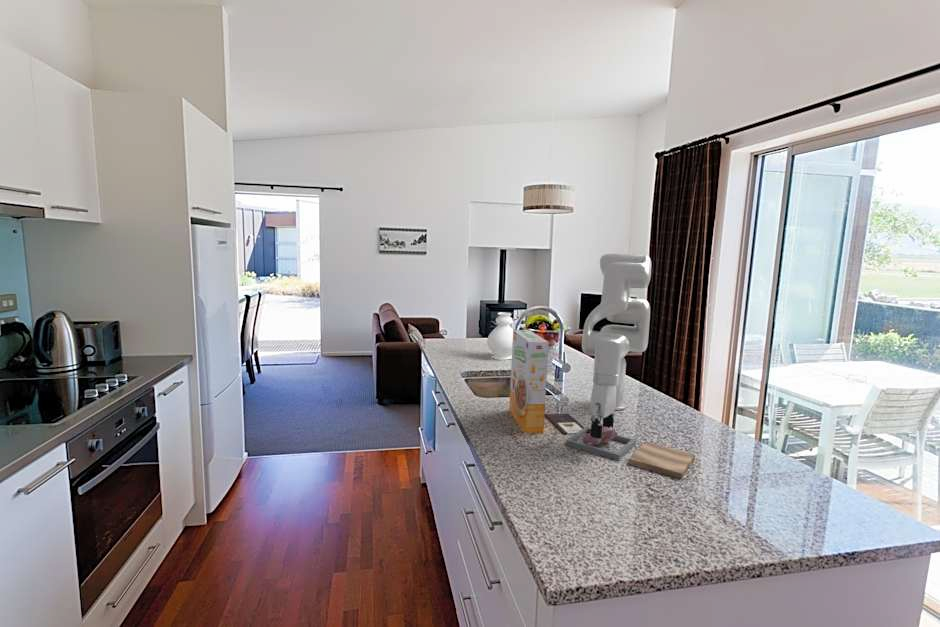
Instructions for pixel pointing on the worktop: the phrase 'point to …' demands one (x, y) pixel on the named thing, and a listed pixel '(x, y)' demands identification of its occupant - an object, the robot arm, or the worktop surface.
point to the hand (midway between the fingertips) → (601, 433)
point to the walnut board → (662, 459)
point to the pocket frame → (596, 450)
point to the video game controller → (606, 437)
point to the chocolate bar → (565, 423)
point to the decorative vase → (501, 337)
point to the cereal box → (528, 380)
